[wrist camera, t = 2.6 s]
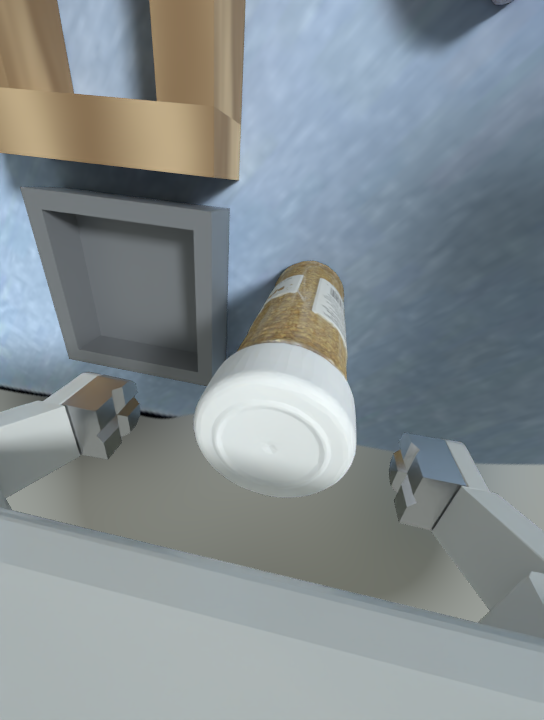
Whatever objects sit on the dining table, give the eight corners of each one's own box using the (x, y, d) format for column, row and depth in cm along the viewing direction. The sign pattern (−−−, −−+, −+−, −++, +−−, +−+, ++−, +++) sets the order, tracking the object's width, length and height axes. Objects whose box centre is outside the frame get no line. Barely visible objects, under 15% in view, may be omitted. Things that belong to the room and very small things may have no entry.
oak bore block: (252, -206, 11) (214, -390, 7) (238, 180, 17) (213, 177, 13) (-34, -197, 12) (-180, -349, 9) (49, 158, 18) (-18, 150, 15)
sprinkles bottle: (272, 260, 19) (171, 371, 7) (347, 259, 18) (367, 382, 6) (276, 327, 21) (202, 494, 9) (342, 329, 20) (350, 516, 9)
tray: (229, 208, 18) (211, 211, 15) (225, 365, 23) (212, 387, 21) (63, 187, 19) (19, 186, 16) (97, 341, 24) (69, 358, 22)
